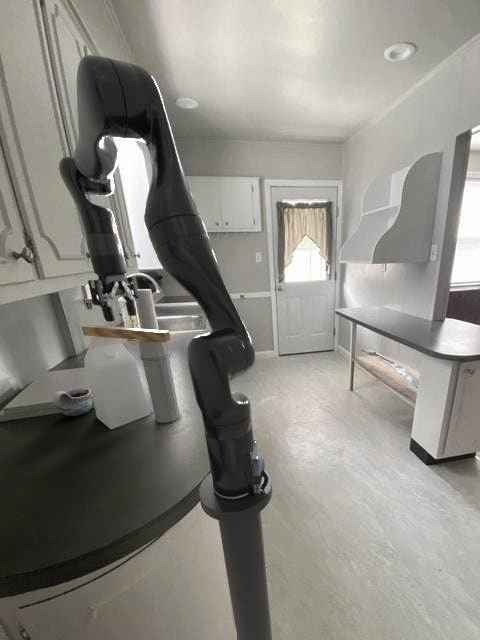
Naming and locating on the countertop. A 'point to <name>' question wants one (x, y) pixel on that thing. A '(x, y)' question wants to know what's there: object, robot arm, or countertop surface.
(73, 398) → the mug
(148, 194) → the robot arm
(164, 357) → the water bottle
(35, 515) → the countertop surface
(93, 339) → the milk
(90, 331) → the stick
